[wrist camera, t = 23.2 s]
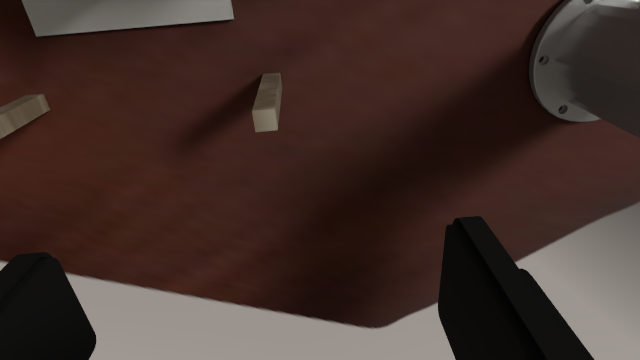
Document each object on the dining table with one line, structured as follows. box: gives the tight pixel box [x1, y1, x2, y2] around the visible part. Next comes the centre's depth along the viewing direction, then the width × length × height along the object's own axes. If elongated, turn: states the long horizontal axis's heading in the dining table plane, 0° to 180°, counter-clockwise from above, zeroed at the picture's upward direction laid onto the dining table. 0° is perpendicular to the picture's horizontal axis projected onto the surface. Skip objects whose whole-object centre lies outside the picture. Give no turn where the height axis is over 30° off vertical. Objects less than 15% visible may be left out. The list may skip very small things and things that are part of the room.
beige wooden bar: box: [0, 72, 282, 139], centre depth 31 cm, size 22×2×10 cm, turn 94°
